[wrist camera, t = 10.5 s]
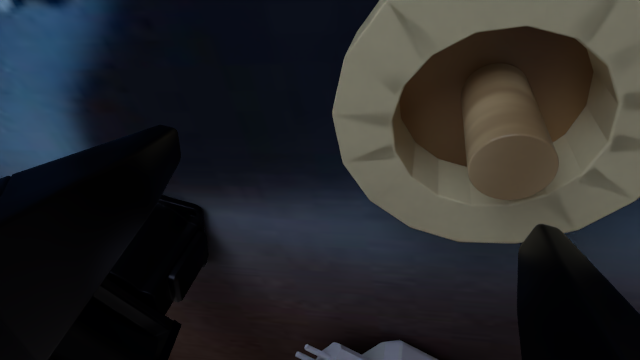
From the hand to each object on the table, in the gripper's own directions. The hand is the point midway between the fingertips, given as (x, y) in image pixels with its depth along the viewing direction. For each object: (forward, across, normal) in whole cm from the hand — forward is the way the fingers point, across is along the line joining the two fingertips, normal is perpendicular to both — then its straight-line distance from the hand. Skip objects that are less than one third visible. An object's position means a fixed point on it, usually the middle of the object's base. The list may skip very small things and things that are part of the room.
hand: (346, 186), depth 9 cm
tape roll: (+8, -4, 0) cm, 9 cm away
